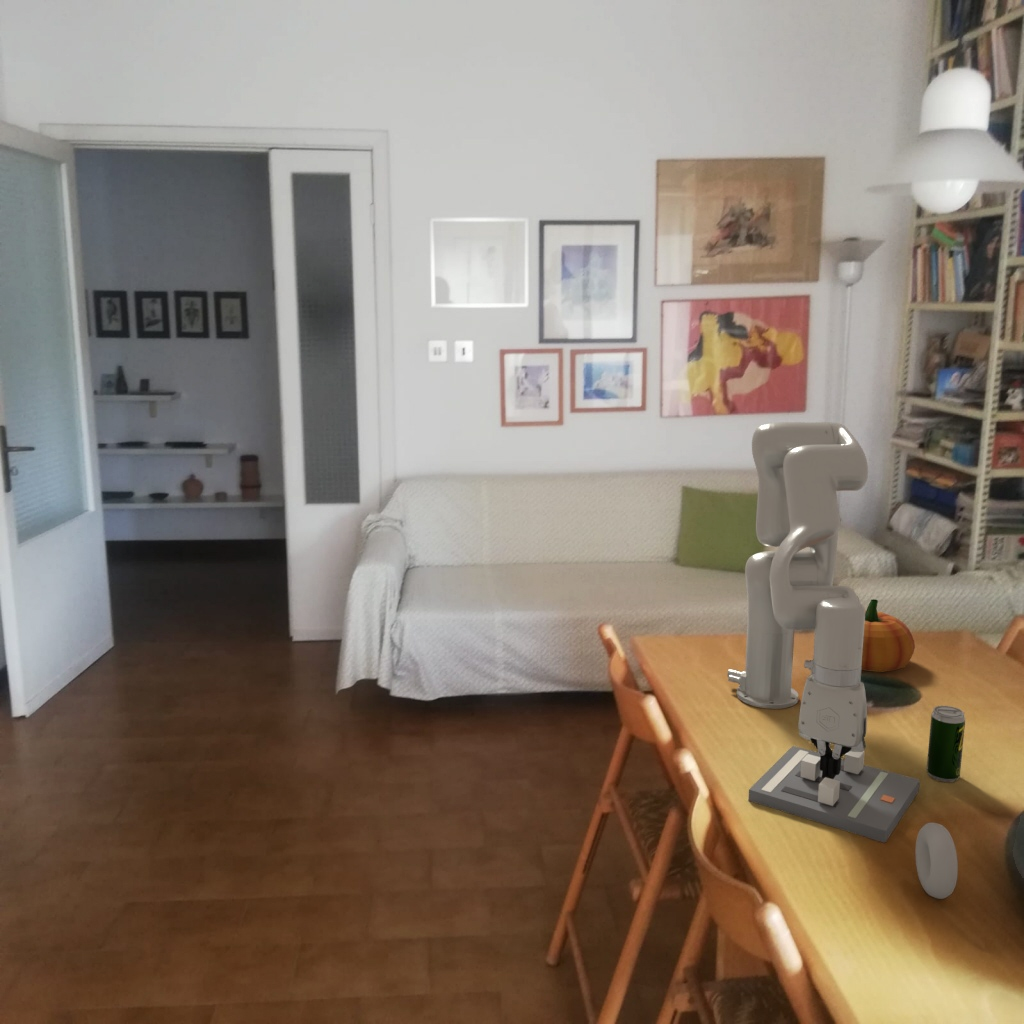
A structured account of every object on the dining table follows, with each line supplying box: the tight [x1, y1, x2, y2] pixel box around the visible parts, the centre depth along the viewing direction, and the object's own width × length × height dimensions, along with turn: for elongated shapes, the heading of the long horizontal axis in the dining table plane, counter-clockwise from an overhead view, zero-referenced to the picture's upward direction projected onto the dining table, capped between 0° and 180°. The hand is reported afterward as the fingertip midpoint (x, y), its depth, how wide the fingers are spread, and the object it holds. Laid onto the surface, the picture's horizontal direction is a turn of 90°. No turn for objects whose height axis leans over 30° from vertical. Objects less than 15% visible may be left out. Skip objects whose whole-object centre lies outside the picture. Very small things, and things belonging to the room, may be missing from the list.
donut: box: [914, 822, 959, 900], centre depth 131 cm, size 10×3×10 cm, turn 173°
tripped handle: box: [801, 754, 821, 781], centre depth 160 cm, size 2×3×3 cm
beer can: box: [926, 705, 966, 783], centre depth 164 cm, size 5×5×12 cm
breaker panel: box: [748, 745, 921, 844], centre depth 158 cm, size 22×20×5 cm
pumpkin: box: [861, 598, 916, 673], centre depth 217 cm, size 19×19×15 cm
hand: (829, 776), depth 159 cm, fingers closed
